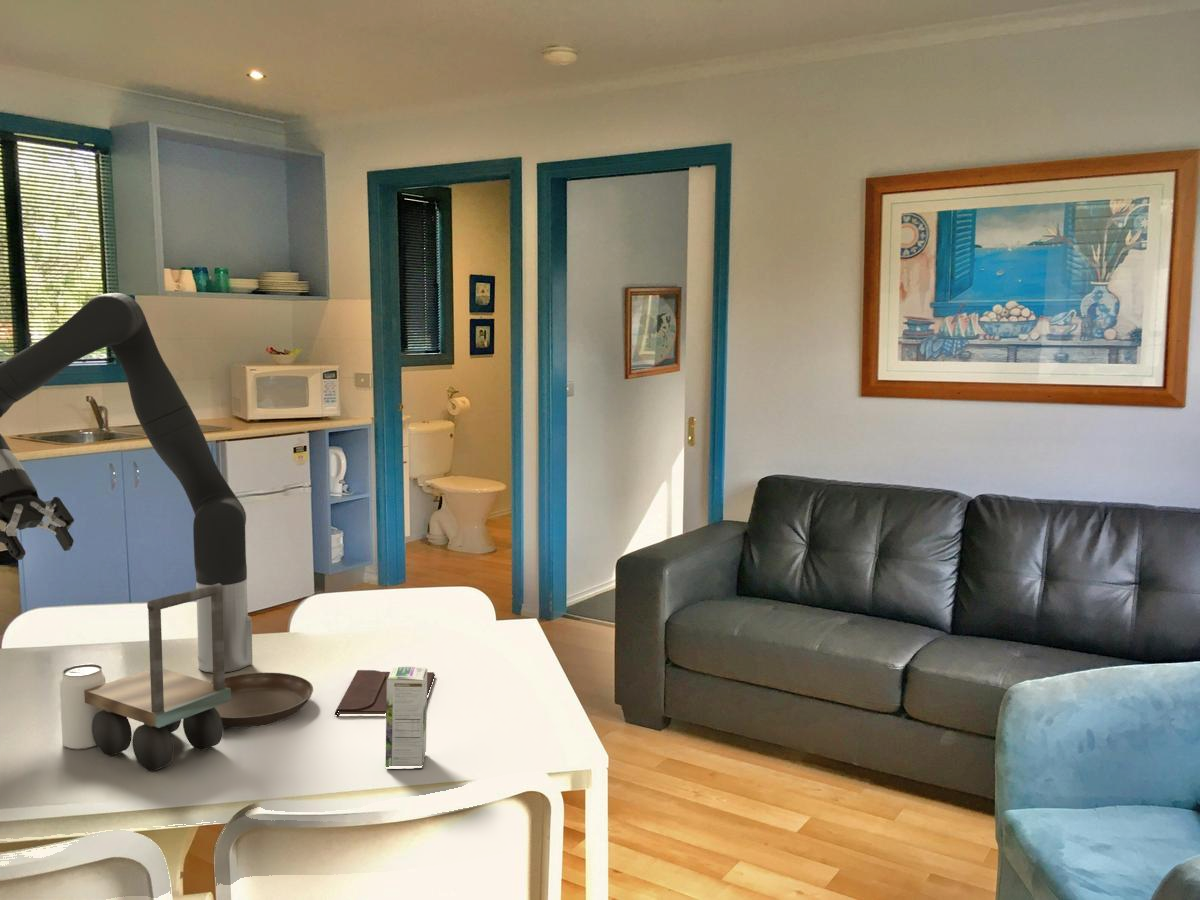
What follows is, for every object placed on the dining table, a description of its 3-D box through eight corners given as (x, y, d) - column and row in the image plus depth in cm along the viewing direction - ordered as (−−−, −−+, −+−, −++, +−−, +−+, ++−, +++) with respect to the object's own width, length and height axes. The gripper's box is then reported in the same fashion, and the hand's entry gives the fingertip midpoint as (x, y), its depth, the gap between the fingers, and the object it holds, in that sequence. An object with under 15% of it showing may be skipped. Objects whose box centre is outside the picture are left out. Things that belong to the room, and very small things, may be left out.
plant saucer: (242, 744, 166) (242, 724, 165) (162, 716, 177) (161, 697, 176) (338, 705, 183) (338, 687, 183) (259, 681, 194) (259, 664, 194)
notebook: (435, 680, 198) (435, 670, 198) (422, 720, 178) (422, 709, 178) (356, 679, 197) (356, 669, 197) (334, 719, 178) (334, 708, 177)
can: (89, 752, 161) (85, 678, 159) (52, 748, 162) (49, 674, 161) (116, 736, 167) (113, 665, 166) (81, 732, 169) (78, 661, 167)
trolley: (86, 752, 161) (79, 584, 158) (159, 724, 172) (154, 568, 169) (160, 779, 152) (154, 603, 149) (232, 749, 163) (228, 584, 160)
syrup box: (389, 754, 163) (389, 666, 161) (427, 754, 163) (427, 665, 161) (385, 770, 157) (384, 678, 155) (424, 770, 158) (424, 678, 156)
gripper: (-30, 472, 175) (13, 547, 171) (50, 462, 187) (92, 532, 183) (-46, 499, 178) (-4, 573, 174) (34, 488, 190) (75, 557, 186)
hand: (46, 552), depth 178 cm, fingers open, 8 cm apart
